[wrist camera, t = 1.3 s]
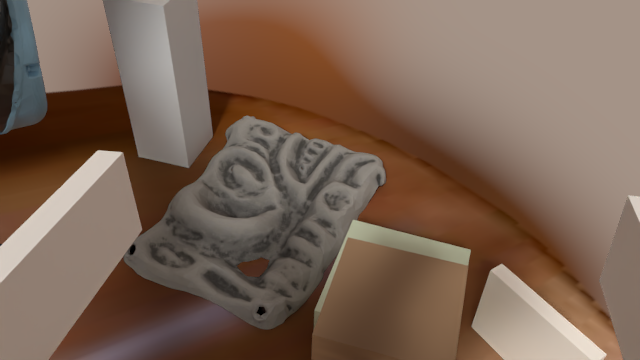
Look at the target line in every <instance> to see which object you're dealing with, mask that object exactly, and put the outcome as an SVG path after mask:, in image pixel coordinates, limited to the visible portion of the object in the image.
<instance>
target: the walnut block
mask: <svg viewBox="0 0 640 360" xmlns="http://www.w3.org/2000/svg"><path fill="white" fill-rule="evenodd" d="M467 273H468V266H467V265H463V264H459V263H455V262H450V261H446V260H442V259H438V258H434V257H429V256H425V255H421V254H417V253H412V252H408V251H404V250H400V249H396V248H391V247H387V246H383V245H379V244H374V243H370V242H366V241H362V240H358V239H353V238H349V237H348V239H347V241H346V244H345V247H344V249H343V252H342V255H341V258H340V260H339V263H338V266H337V268H336V271H335V274H334V277H333V279H332V282H331V285H330V287H329V290H328V293H327V296H326V298H325V301H324V304H323V306H322V309H321V312H320V315H319V317H318V320H317V323H316V325H315V328H314V331H313V334H312V356H311V360H456V353H457V346H458V339H459V331H460V324H461V317H462V309H463V302H464V295H465V287H466V280H467Z"/></svg>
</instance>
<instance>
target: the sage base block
mask: <svg viewBox="0 0 640 360" xmlns="http://www.w3.org/2000/svg"><path fill="white" fill-rule="evenodd" d="M348 237H349V238H353V239H358V240H362V241H366V242H370V243H374V244H379V245H383V246H387V247H391V248H396V249H400V250H404V251H408V252H412V253H417V254H421V255H425V256H429V257H434V258H438V259H442V260H446V261H450V262H455V263H459V264H463V265H467V266H468V263H469V257H470V252H471V250H470V249H466V248H462V247H458V246H454V245H450V244H446V243H442V242H438V241H434V240H431V239H427V238H423V237H419V236H415V235H411V234H407V233H403V232H399V231H396V230H392V229H388V228H384V227H380V226H376V225H372V224H368V223H364V222H360V221H357V220H353V221H352V223H351V225H350V228H349V230H348V232H347V235H346V237H345V239H344V242H343V244H342V247H341V249H340V251H339V254H338V256H337V258H336V261H335V263H334V265H333V268H332V270H331V272H330V275H329V277H328V279H327V282H326V284H325V286H324V289H323V291H322V294H321V296H320V298H319V301H318V303H317V305H316V308H315V310H314V328H315V325H316V323H317V320H318V317H319V315H320V312H321V309H322V306H323V304H324V301H325V298H326V296H327V293H328V290H329V287H330V285H331V282H332V279H333V277H334V274H335V271H336V268H337V266H338V263H339V260H340V258H341V255H342V252H343V249H344V247H345V244H346V241H347V239H348Z"/></svg>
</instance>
